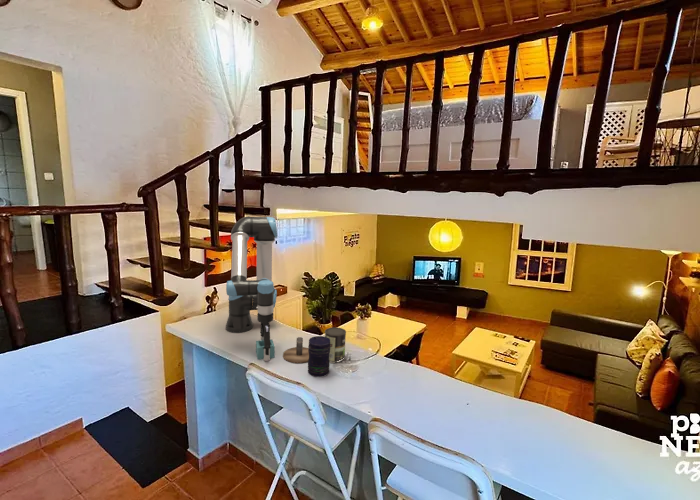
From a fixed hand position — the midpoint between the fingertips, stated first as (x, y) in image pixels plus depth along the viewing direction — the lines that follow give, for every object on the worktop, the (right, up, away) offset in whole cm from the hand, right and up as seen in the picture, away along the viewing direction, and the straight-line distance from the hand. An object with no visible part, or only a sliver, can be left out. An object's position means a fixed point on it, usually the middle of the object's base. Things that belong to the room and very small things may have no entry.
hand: (265, 354), depth 174 cm
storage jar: (+27, -4, -13) cm, 31 cm away
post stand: (+17, -1, +1) cm, 17 cm away
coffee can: (+34, -2, 0) cm, 34 cm away
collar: (0, 0, 0) cm, 0 cm away
